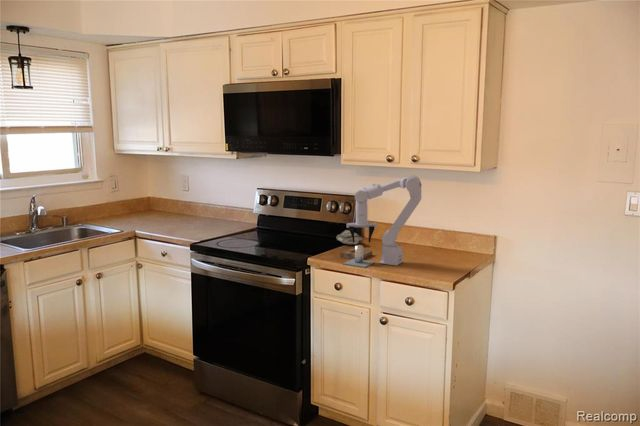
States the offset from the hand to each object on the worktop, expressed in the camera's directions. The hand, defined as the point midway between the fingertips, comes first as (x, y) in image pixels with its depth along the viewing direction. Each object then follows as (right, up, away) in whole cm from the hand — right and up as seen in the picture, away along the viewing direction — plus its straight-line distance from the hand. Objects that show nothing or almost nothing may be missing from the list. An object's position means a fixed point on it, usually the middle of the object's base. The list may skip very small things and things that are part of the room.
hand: (361, 241), depth 250 cm
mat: (-2, -10, -3) cm, 11 cm away
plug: (-2, -10, -3) cm, 10 cm away
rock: (-3, -4, +39) cm, 39 cm away
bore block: (-2, -8, +11) cm, 14 cm away
